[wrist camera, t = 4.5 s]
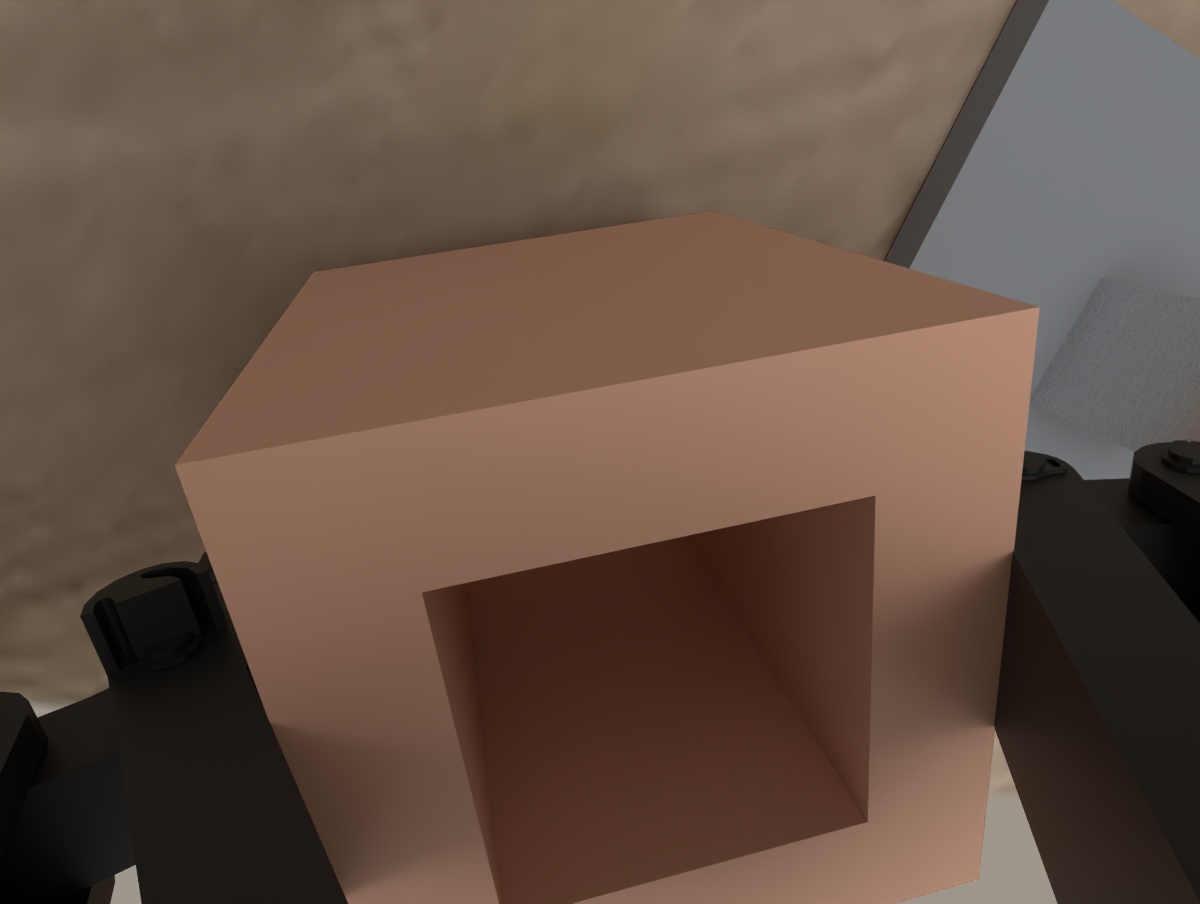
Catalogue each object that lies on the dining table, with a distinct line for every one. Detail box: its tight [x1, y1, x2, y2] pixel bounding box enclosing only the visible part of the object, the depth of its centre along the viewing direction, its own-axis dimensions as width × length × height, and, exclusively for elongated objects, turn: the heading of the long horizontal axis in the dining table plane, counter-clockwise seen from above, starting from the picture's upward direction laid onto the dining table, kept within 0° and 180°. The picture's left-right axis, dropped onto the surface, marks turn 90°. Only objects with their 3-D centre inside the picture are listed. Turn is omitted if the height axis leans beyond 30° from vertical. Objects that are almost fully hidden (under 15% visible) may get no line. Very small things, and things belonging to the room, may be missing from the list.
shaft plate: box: [885, 0, 1200, 480], centre depth 22 cm, size 14×14×1 cm
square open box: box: [175, 211, 1040, 904], centre depth 12 cm, size 8×8×9 cm
